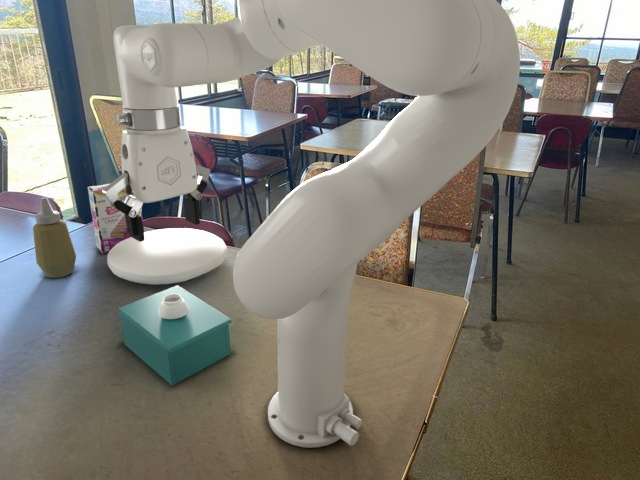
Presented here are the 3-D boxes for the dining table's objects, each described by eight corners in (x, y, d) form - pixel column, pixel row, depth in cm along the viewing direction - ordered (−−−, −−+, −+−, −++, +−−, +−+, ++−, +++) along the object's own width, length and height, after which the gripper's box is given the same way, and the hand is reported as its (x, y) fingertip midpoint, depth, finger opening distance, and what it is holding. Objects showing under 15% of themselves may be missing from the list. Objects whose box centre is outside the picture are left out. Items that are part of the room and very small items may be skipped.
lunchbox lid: (231, 322, 81) (231, 318, 81) (170, 353, 73) (169, 348, 73) (177, 288, 91) (177, 284, 91) (119, 311, 83) (118, 307, 83)
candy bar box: (103, 255, 119) (92, 191, 112) (96, 248, 122) (85, 186, 116) (147, 244, 126) (139, 183, 119) (140, 238, 129) (132, 179, 123)
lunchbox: (230, 353, 84) (228, 321, 82) (171, 385, 76) (167, 350, 74) (181, 319, 94) (177, 288, 91) (124, 344, 86) (119, 312, 83)
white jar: (154, 310, 82) (163, 324, 79) (153, 295, 81) (161, 309, 77) (183, 302, 85) (193, 315, 81) (182, 288, 84) (192, 300, 80)
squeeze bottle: (64, 282, 106) (48, 205, 99) (31, 279, 107) (12, 202, 100) (86, 266, 113) (72, 193, 106) (55, 263, 114) (39, 191, 107)
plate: (148, 220, 128) (243, 230, 124) (149, 243, 130) (242, 254, 126) (78, 252, 102) (195, 267, 97) (81, 281, 104) (196, 297, 99)
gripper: (105, 130, 61) (125, 253, 67) (218, 116, 72) (225, 222, 79) (80, 123, 65) (101, 239, 72) (190, 110, 77) (199, 211, 84)
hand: (166, 230), depth 75 cm, fingers open, 9 cm apart
